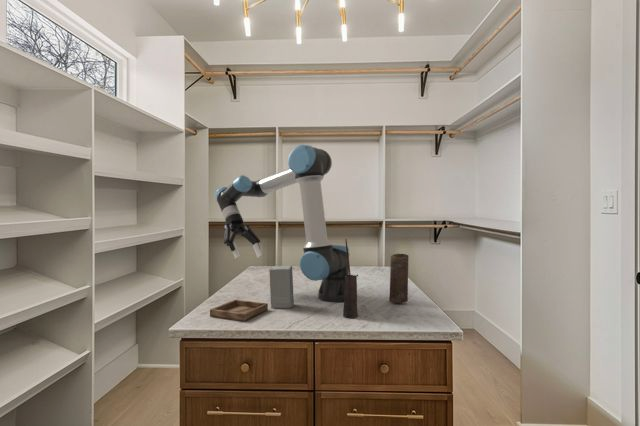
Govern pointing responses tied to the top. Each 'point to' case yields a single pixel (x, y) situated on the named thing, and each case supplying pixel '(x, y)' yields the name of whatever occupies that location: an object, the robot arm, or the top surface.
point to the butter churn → (350, 293)
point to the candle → (399, 278)
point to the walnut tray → (239, 310)
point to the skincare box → (281, 287)
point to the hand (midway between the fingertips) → (249, 256)
